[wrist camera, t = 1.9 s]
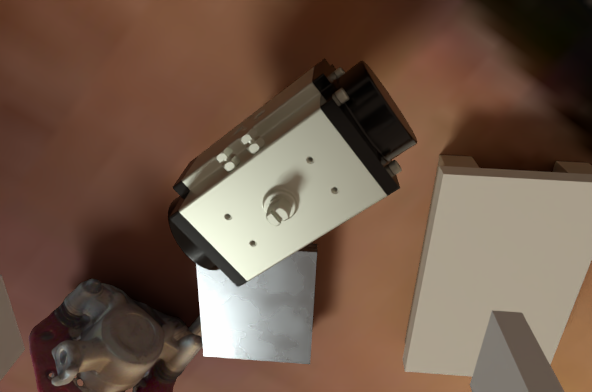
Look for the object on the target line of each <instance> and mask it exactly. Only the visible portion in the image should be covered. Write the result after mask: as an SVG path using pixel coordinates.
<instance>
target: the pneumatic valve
mask: <svg viewBox="0 0 592 392" xmlns="http://www.w3.org/2000/svg"><path fill="white" fill-rule="evenodd" d="M415 144H417V139H416V137H415V135H414V133H413V131H412V129H411V127H410V126H409V124H408V122H407V121H406V119H405V118H404V116H403V114H402V113H401V111H400V110H399V108H398V107H397V105H396V104H395V102H394V101H393V99H392V98H391V96H390V95H389V93H388V92H387V90H386V89H385V87H384V86H383V85H382V83H381V82H380V80H379V79H378V78H377V76H376V75H375V74H374V72H373V71H372V70H371V69H370V67H369V66H368V65H367V64H366V63H365V62H364V61H360V62H359V63H358V64H356V65H355V66H354V67H352V68H351V69H350V70H348V71H347V72H344V71H343V69H342V68H341V67H339V68H338V69H336V68H335V67H334V66H333V64H332V65H331V66H330V65H329V63H328V62H327V61H326V59H325V58H324V59H323V60H322V61H321V62H319V63H318V64H317V65H315V66H314V67H313V68H311V69H310V70H309V71H308V72H306V73H305V74H304V75H302V76H301V77H300V78H298V79H297V80H296V81H295V82H293V83H292V84H291V85H289V86H288V87H287V88H285V89H284V90H283V91H282V92H280V93H279V94H278V95H276V96H275V97H274V98H272V99H271V100H270V101H269V102H267V103H266V104H265V105H263V106H262V107H261V108H260V109H258V110H257V111H256V112H254V113H253V114H252V115H250V116H249V117H248V118H247V119H245V120H244V121H243V122H241V123H240V124H239V125H237V126H236V127H235V128H234V129H232V130H231V131H230V132H228V133H227V134H226V135H224V136H223V137H222V138H221V139H219V140H218V141H217V142H215V143H214V144H213V145H211V146H210V147H209V148H208V149H206V150H205V151H204V152H202V153H201V154H200V155H198V156H197V157H196V158H195V159H193V160H192V161H191V162H190V163H189V164H188V166H187V167H186V168H185V170H184V171H183V173H182V174H181V176H180V177H179V179H178V180H177V182H176V183H175V185H174V186H173V189H174V190H175V191H176V192H177V193H178V194H179V195H180V196H179V197H178V198H176V199H175V200H174V201H173V202H172V203H171V205H170V207H169V211H168V221H169V226H170V229H171V232H172V234H173V236H174V238H175V240H176V242H177V244H178V245H179V247H180V248H181V249H182V251H183V252H184V253H185V254H186V255H187V256H188V257H189V258H190V259H191V260H192V261H193V262H195V263H196V264H197V265H199V266H201V267H203V268H205V269H208V270H221V271H222V272H223V273H224V274H225V275H226V276H227V277H228V278H229V279H230V280H231V281H232V282H233V283H234V284H235V285H236V286H237V287H240V286H242V285H243V284H245V283H247V282H248V281H250V280H251V279H253V278H255V277H256V276H258V275H260V274H261V273H263V272H264V271H266V270H268V269H269V268H271V267H273V266H274V265H276V264H277V263H279V262H281V261H282V260H284V259H286V258H287V257H289V256H290V255H292V254H294V253H295V252H297V251H299V250H300V249H302V248H303V247H305V246H307V245H308V244H310V243H312V242H313V241H315V240H316V239H318V238H320V237H321V236H323V235H325V234H326V233H328V232H329V231H331V230H333V229H334V228H336V227H338V226H339V225H341V224H342V223H344V222H346V221H347V220H349V219H351V218H352V217H354V216H355V215H357V214H359V213H360V212H362V211H364V210H365V209H367V208H368V207H370V206H372V205H373V204H375V203H377V202H378V201H380V200H381V199H383V198H385V197H386V196H388V195H390V194H391V193H393V192H394V191H396V190H398V189H399V188H400V186H399V182H398V179H397V176H396V174H397V173H399V172H401V171H402V169H401V167H400V165H399V164H398V163H397V161H396V160H393V161H392V159H394V158H395V157H397V156H398V155H400V154H401V153H403V152H404V151H406V150H407V149H409V148H411V147H412V146H414V145H415Z"/></svg>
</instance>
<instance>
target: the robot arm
mask: <svg viewBox="0 0 592 392" xmlns="http://www.w3.org/2000/svg"><path fill="white" fill-rule="evenodd" d="M24 350H25V348H24V345H23V341H22V338H21V335H20V332H19V329H18V326H17V322H16V319H15V316H14V313H13V310H12V307H11V303H10V300H9V297H8V294H7V291H6V288H5V284H4V281H3V278H2V275H0V381H1V379H2V378H3V377H4V376H5V374H6V373H7V372H8V370H9V369H10V368H11V367H12V365H13V364H14V363H15V361H16V360H17V359H18V358H19V356H20V355H21V354H22V352H23V351H24ZM470 386H471V390H472V392H564V390H563V388H562V387H561V385H560V383H559V381H558V379H557V377H556V375H555V373H554V372H553V370H552V368H551V366H550V364H549V362H548V360H547V358H546V356H545V355H544V353H543V351H542V349H541V347H540V345H539V343H538V341H537V340H536V338H535V336H534V334H533V332H532V330H531V328H530V326H529V325H528V323H527V321H526V319H525V317H524V315H523V313H521V312H507V311H494V310H492V312H491V316H490V319H489V322H488V326H487V329H486V332H485V336H484V339H483V343H482V346H481V349H480V353H479V356H478V360H477V363H476V366H475V370H474V373H473V376H472V380H471V383H470Z"/></svg>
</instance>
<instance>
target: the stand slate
mask: <svg viewBox="0 0 592 392" xmlns="http://www.w3.org/2000/svg"><path fill="white" fill-rule="evenodd" d="M316 261H317V244H312V243H310V244H308V245H307V246H305V247H303V248H302V249H300V250H299V251H297V252H295V253H294V254H292V255H290V256H289V257H287V258H286V259H284V260H282V261H281V262H279V263H277V264H276V265H274V266H273V267H271V268H269V269H268V270H266V271H264V272H263V273H261V274H260V275H258V276H256V277H255V278H253V279H251V280H250V281H248V282H247V283H245V284H243V285H242V286H240V287H237V286H236V285H235V284H234V283H233V282H232V281H231V280H230V279H229V278H228V277H227V276H226V275H225V274H224V273H223V272H222V271H221V270H208V269H205V268H203V267H201V266H199V265H197V264H196V269H197V281H198V293H199V305H200V318H201V330H202V342H203V354H204V356H209V357H222V358H235V359H248V360H262V361H275V362H288V363H301V364H310V356H311V340H312V324H313V308H314V293H315V277H316Z"/></svg>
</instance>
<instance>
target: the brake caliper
mask: <svg viewBox="0 0 592 392" xmlns="http://www.w3.org/2000/svg"><path fill="white" fill-rule="evenodd" d="M201 335H202V330H201V318H200V316H199V317H198V318H197V319H196V320H195V321H194V322H193V323H192V325H191V326H190V327H188V328H187V326H186V324H185V323H184V322H183V321H182V320H181V319H180V318H177V317H172V316H168V315H166V314H164V313H161V312H159V311H157V310H156V309H153V308H151V307H150V306H148V305H146V304H144V303H141V302H138V301H135V300H133V299H131V298H130V297H129V296H128V295H127V294H126V293H125V292H124V291H122V290H121V289H119V288H117V287H115V286H113V285H110V284H105V283H101V282H100V281H99V280H97V279H89V280H87V281H84V282H82V283H80V284H79V285H78V286H77V288H76V289H75V290H74V291H72V292H71V293H70V294H69V295H68V296H67V297H66V298H65V299H64V301H63V303H62V304H61V305H60V306H59V307H58V308H57V309H56V310H54V311H53V312H52V313H51V314H50V315H49V316H48V317H47V318H45V319H44V320H43V321H41V322H40V323H39V324H38V325H36V326H35V327H34V328H33V329H32V331H31V333H30V336H29V344H30V354H31V358H32V362H33V367H34V371H35V376H36V383H37V389H38V392H125V391H126V390H128V389H130V388H132V387H133V392H173V386H174V384H175V381H176V378H177V377H178V376H179V375H180V374H181V373H182V372H183V371H184V369H185V367H186V366H187V365H188V363H189V362H190V361H191V360H192V359H193V358H194V356H195V355H196V354H197V353H198V352H199V350H200V349H201V348H202V346H203V342H202V337H200V336H201ZM50 373H53V374H52V376H51V377H49V374H50ZM76 375H77V377H76V378H74V377H75V376H76ZM78 379H81V380H82V381H83V383H84V384H83V386H78V384H77V380H78Z"/></svg>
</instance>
